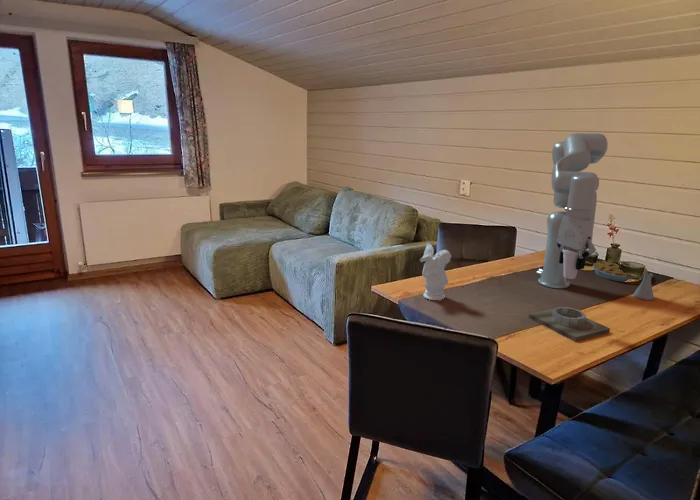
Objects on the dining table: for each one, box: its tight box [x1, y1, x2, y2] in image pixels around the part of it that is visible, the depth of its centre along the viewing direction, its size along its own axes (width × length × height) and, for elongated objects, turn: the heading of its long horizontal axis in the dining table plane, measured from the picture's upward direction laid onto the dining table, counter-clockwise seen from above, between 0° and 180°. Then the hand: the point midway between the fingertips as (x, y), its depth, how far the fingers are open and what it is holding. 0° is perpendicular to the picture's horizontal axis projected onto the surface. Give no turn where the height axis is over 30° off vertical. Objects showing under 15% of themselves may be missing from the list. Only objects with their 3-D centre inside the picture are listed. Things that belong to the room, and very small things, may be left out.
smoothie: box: [562, 247, 583, 280], centre depth 153 cm, size 6×6×14 cm
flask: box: [633, 272, 655, 301], centre depth 182 cm, size 7×7×10 cm
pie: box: [592, 259, 649, 283], centre depth 208 cm, size 22×22×5 cm
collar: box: [552, 306, 587, 327], centre depth 158 cm, size 10×10×3 cm
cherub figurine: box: [419, 241, 452, 301], centre depth 180 cm, size 12×12×22 cm
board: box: [528, 306, 611, 342], centre depth 159 cm, size 20×16×2 cm
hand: (571, 265), depth 154 cm, fingers closed on smoothie, 6 cm apart
